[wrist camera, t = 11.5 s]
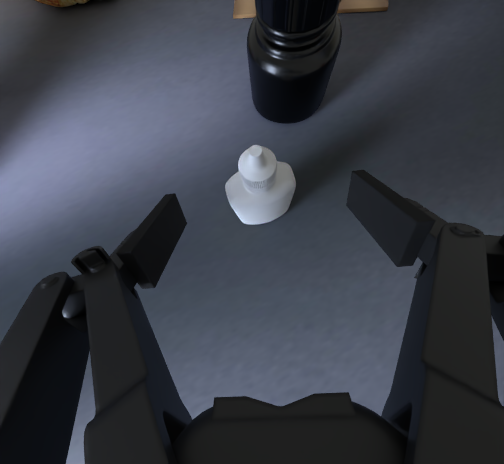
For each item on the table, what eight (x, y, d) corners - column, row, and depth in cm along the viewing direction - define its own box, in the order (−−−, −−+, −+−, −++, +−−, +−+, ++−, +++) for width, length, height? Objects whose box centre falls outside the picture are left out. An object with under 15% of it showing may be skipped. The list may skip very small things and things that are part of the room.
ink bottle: (330, 65, 24) (388, -120, 12) (323, 129, 23) (378, -9, 11) (254, 62, 25) (241, -111, 14) (243, 123, 24) (218, -9, 12)
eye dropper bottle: (244, 187, 23) (216, 108, 11) (290, 195, 22) (314, 122, 10) (235, 222, 22) (196, 178, 11) (283, 232, 22) (299, 198, 10)
